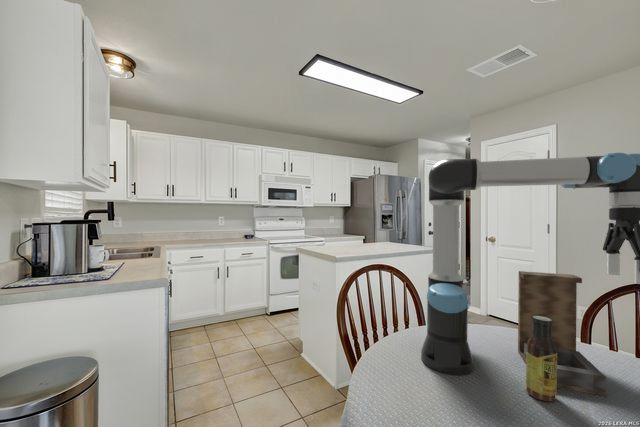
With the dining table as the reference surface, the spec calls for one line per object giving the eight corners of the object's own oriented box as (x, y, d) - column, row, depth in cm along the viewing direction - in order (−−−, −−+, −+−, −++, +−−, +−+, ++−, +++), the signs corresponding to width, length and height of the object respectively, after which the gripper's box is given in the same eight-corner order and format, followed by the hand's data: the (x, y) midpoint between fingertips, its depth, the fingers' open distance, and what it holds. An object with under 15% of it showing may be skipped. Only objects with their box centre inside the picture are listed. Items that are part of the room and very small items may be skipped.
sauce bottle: (548, 406, 70) (549, 324, 70) (520, 392, 76) (521, 316, 76) (561, 398, 73) (562, 320, 73) (534, 385, 79) (534, 312, 79)
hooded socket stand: (537, 383, 80) (538, 283, 80) (517, 351, 98) (518, 271, 98) (608, 396, 74) (609, 289, 74) (573, 360, 93) (573, 274, 93)
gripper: (677, 205, 72) (677, 290, 72) (618, 208, 96) (618, 272, 95) (637, 205, 75) (637, 287, 75) (589, 208, 98) (589, 270, 98)
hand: (626, 279), depth 85 cm, fingers open, 13 cm apart
